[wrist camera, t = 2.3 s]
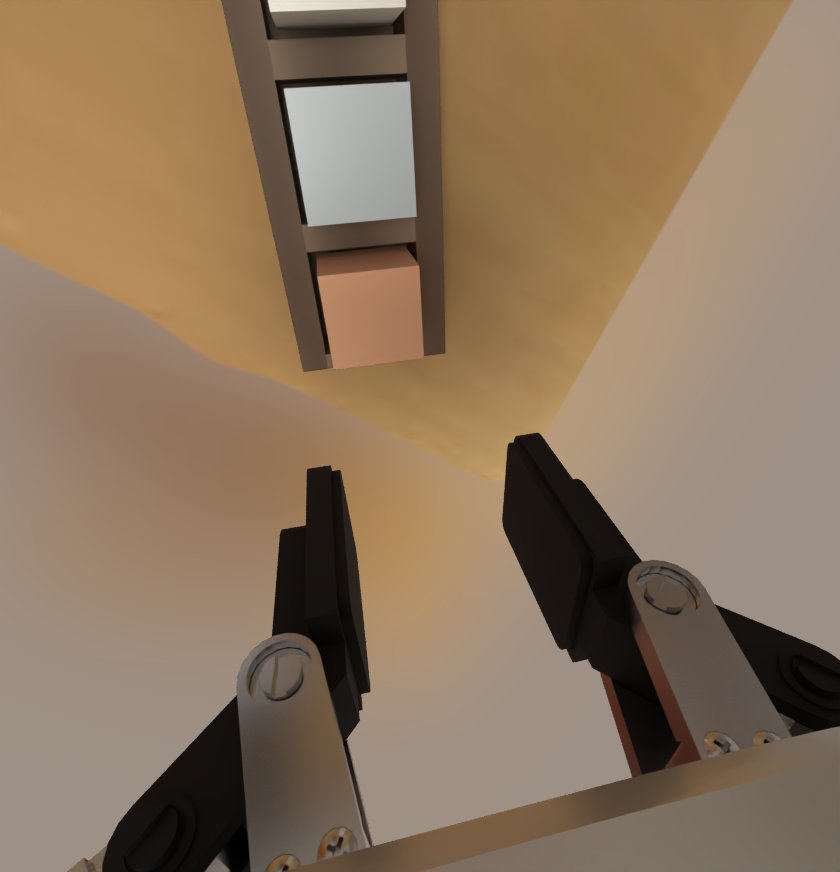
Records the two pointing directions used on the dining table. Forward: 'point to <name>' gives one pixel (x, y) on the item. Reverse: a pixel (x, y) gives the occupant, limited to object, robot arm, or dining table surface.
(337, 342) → the orange cube
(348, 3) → the white cube
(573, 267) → the dining table surface
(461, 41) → the dining table surface
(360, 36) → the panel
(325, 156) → the light grey cube
